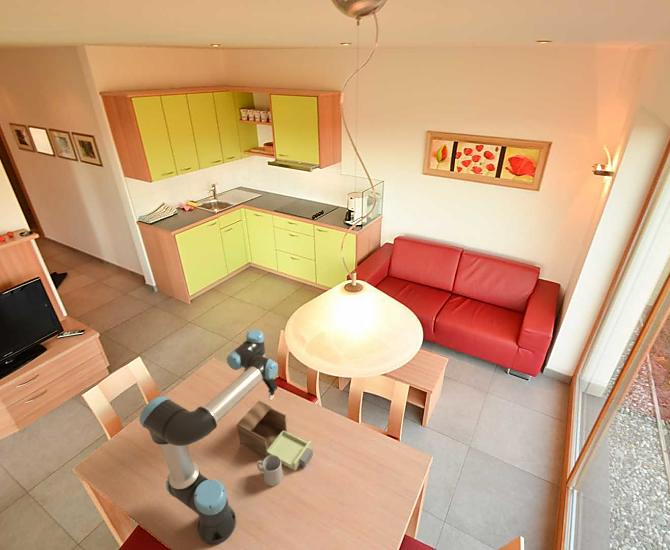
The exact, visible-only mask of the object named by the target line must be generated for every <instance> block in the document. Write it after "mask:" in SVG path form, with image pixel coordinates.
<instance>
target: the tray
mask: <svg viewBox="0 0 670 550" xmlns="http://www.w3.org/2000/svg"><path fill="white" fill-rule="evenodd" d="M267 452H268V456H270V455H276V456H278V457H279V458H280V460H281V465H284V466H286V467H287V468H289V469H291V470H293V471H297V470H298V468H299V467H300V465H301V466H302V467H304V468H306V466H307V465H308V464H309V462H310V460H311V459H312V458H313V455H314V452H313V449H312V441H311V440H308V441H306V440H304V439H302V438H300V437H298V436H297V435H296V436H295V435H294V434H292V433H290V432H288V431H287V432H286V431H284V430H283V431H282V432H281V433H280V434H279V436H278V437H277V438H276V439H275V441H274V442H273V443H272V444H271V446H270V447H269V448H268V449H267Z"/></svg>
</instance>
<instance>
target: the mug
mask: <svg viewBox="0 0 670 550" xmlns="http://www.w3.org/2000/svg"><path fill="white" fill-rule="evenodd" d="M261 466H262V467H261ZM256 467H257V470H258V471H260V472H262V474H263V481H264V483H265V484H266V485H267V486H269V487H275V486H278V485H279V484H280V483H281V482H282V480H283V471H282V470H283V468H282V463H281V460H280V458H279V457H278V456H276V455H270V456H267V457H266V458H264V459H263V460H258V461H257V464H256Z"/></svg>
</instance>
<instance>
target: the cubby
mask: <svg viewBox="0 0 670 550" xmlns="http://www.w3.org/2000/svg"><path fill="white" fill-rule="evenodd" d="M236 428H237V433H238V439H239V444H240V445H242V446H243V447H245V448H246V449H248V450H250V451H251V452H254V453H256V454H257V455H259V456H260V457H263V458H264V459H265V458H266V457H267V456H268V452H267V449H268V448H269V447H270V446H271V444H272V443H273V442H274V441H275V439H276V438H277V437H278V436H279V434H280V433H281V432H282V431H283V430H284V431H286V432H288V429H287V428H288V427H287V417H286V414H284V413H283V412H280V411H278V410H276V409H274V408H272V406H270V405H269V404H267V403H264V402H262V401H261V400H258V401H257V402H256V403H255V404H254V405H253V406H252V407H251V408H250V409H249V410H248V412H247V413H246V414H245V415H243V417H242V418H241V419H240V420H239V421H238V422H237V423H236Z"/></svg>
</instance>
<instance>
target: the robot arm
mask: <svg viewBox="0 0 670 550" xmlns="http://www.w3.org/2000/svg"><path fill="white" fill-rule="evenodd" d="M245 337H246V340H245V341H244V342H242V344H241V345H239V346H238V347H237V348H235V349H234V350H232V351H231V352H230V353H229V354H228V355H227V357H226V363H227V365H228V366H229V368H231V369H232V370H234V371H239V370H240V369H241V368H243V369H244V371H243V372H242V373H241V374H240V375H238V376H237V377H236V378H235V379H234V380H233V381H231V382H230V384H228V385H227V386H225V388H224V389H222V390H221V391H220V392H219V393H217V394H216V395H215V396H214V397H213V398H212V399H211V400H209V401H208V402H207V403H206V404H205V405H204V406H201V405H200V406H199V407H197V408H196V409H195V410H192V411H190V410H188V409H186V408H185V407H183V406H181V405H180V404H178V403H176V402H175V401H174V400H173V401H172V400H171V398H168V397H165V396H157V397H155V398H153V399H152V400H150V401H149V402H148V403H147V404H146V405H145V406H144V407H143V409H142V412H141V413H140V416H139V423H140V425H141V426H142V428H144V429H146V430H147V431H148V432H149V435H150V437H151V439H152V441H153V442H154V443H155V444H157V445H158V446H160V449H161V452H162V455H163V458H164V461H165V463H166V465H167V467H168V471H169V474H168V476H167V477H166V479H167V480H166V482H165V488H166V491H167V492H168V493H169V495H171V497H173V498H176V499H177V500H178V501H180V503H182V504H184V505H185V506H186V507H188V508H189V509H190V510H191V511H193V512H194V513H195V514H197V516H198V517H199V520H198V523H197V530H198V531H197V532H198V535H199V538H200V539H201V541H202V542H204V543H205V544H208V545H211V546H212V545H219V544H221V543H223V542H225V541H226V540H228V539H229V538H230V536H231V535H232V533H233V532H234V531H235V528H236V524H237V517H236V513H235V511H234V509H233V508H232V507H231V506H230V505H229V501H228V494H227V490H226V487H225V485H223V483H222V482H221V481H220V480H218V479H214V478H211V479H209V478H207V477H206V476H204V475H203V474H202V473H201V471H200V468H199V465H198V464H197V463H196V462H194V461H193V460H192V456H191V454H190V451H189V447H188V445H191V444H194V443H196V442H198V441H200V440H202V439H204V438H206V437H207V436H209V435H210V434H211V433H213V431H215V430H216V428H217V427H218V423H219V421H220V420H222V419H223V418H224V417H225V416H226V415H227V414H228V413H229V412H230V411H231V410H232V409H234V407H236V406H237V405H238V404H239V403H240V402H241V400H243V399H244V398H245V397H246V396H247V395H248V394H249V393H250V392H252V390H254V388H255V387H257V385H259V384H260V383H261V382H262V381H263V382H264V385H266V387H267V389H268V390H267V392H268V401H272V400H273V399H274V398H275V396H274V395H275V392H276V391H277V390H278V386H277V384H276V381H275V380H274V378H275V377H276V375H277V373H278V371H279V365H278V363H277V362H276V361H274V360H272V359H271V358H267V357H266V349H265V348H266V347H265V338H264V337H265V336H264V332H263V331H262V330H260V329H251V330H250V331H248V332H247V333H246V336H245Z"/></svg>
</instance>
